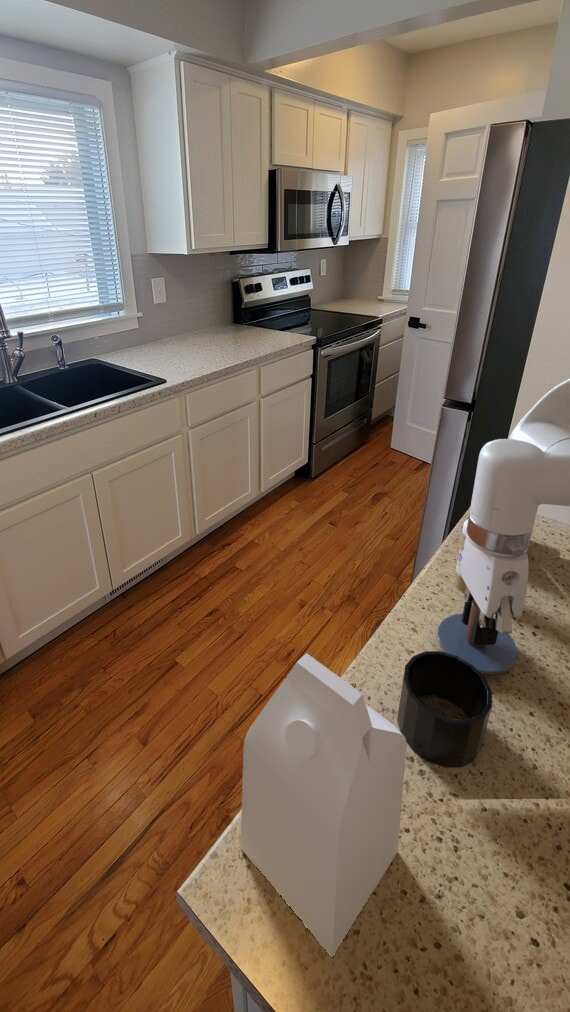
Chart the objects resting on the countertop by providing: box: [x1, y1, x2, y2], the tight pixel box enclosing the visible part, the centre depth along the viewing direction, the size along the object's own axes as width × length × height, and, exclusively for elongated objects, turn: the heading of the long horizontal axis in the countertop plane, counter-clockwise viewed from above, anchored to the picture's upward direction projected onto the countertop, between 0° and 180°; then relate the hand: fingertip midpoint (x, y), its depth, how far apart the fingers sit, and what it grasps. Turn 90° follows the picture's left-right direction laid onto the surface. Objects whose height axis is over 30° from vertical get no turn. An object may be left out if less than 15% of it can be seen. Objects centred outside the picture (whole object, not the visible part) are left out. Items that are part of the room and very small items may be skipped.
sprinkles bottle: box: [452, 519, 468, 594], centre depth 83 cm, size 5×5×14 cm
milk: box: [239, 652, 407, 958], centre depth 46 cm, size 12×12×26 cm
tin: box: [396, 650, 493, 769], centre depth 61 cm, size 10×10×8 cm
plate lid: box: [437, 600, 518, 675], centre depth 71 cm, size 11×11×8 cm
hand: (478, 631), depth 72 cm, fingers closed on plate lid, 3 cm apart
